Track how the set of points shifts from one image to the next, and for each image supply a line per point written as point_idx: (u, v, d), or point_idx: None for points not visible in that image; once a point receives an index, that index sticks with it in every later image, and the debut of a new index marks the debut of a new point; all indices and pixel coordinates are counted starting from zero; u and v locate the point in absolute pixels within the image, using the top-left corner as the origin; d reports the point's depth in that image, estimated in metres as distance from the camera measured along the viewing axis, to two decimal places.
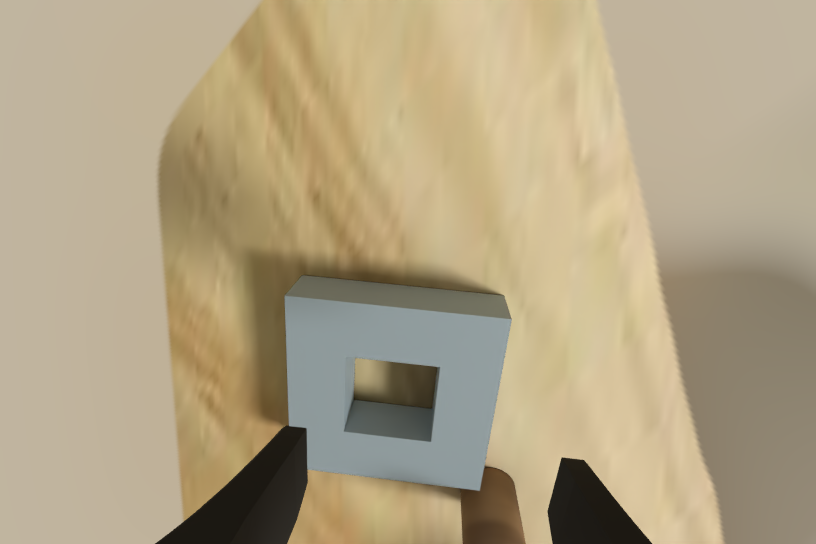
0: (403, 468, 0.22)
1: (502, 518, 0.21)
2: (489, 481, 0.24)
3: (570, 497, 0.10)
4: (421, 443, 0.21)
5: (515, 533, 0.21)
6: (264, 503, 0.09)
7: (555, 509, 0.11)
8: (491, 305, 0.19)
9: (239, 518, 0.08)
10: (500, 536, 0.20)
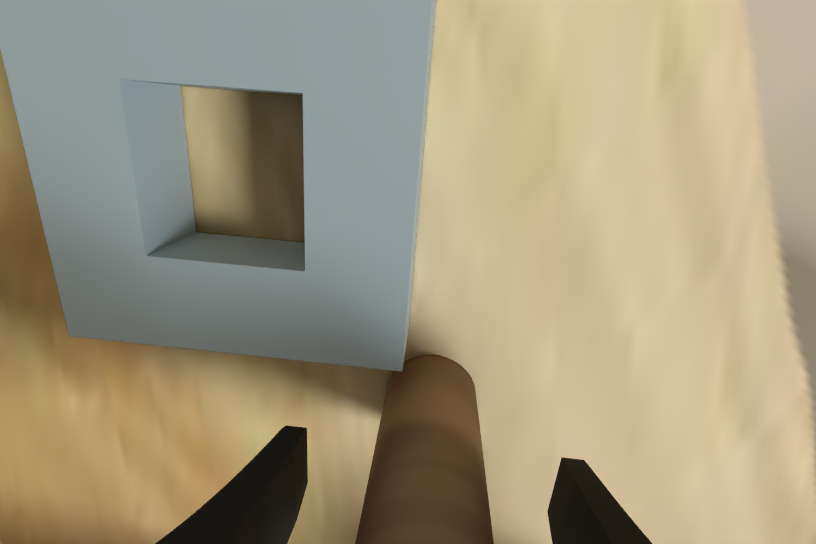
0: (263, 330, 0.12)
1: (441, 418, 0.12)
2: (428, 371, 0.14)
3: (570, 497, 0.10)
4: (288, 275, 0.11)
5: (463, 441, 0.11)
6: (264, 503, 0.09)
7: (555, 509, 0.11)
8: None
9: (239, 518, 0.08)
10: (432, 443, 0.11)
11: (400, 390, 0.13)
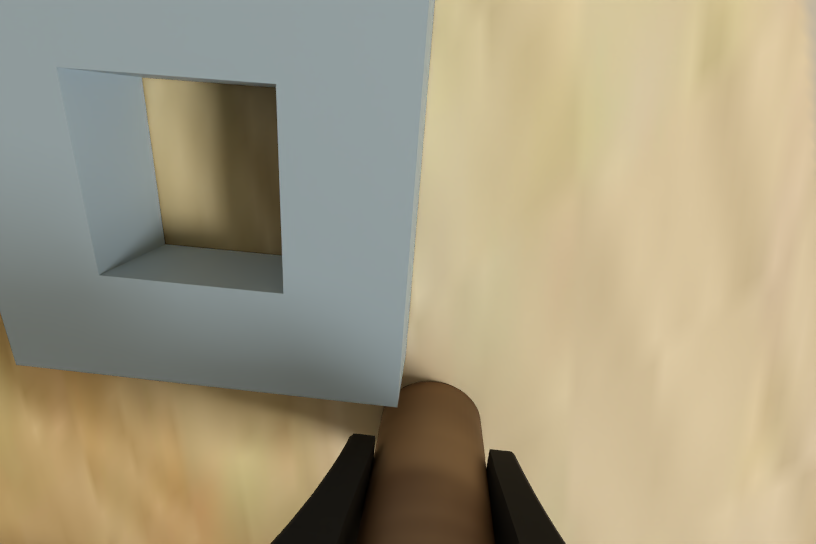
0: (236, 360, 0.10)
1: (442, 463, 0.10)
2: (427, 402, 0.12)
3: (492, 488, 0.11)
4: (264, 298, 0.10)
5: (468, 492, 0.10)
6: (350, 514, 0.09)
7: None
8: None
9: (334, 530, 0.08)
10: (431, 497, 0.09)
11: (396, 424, 0.12)
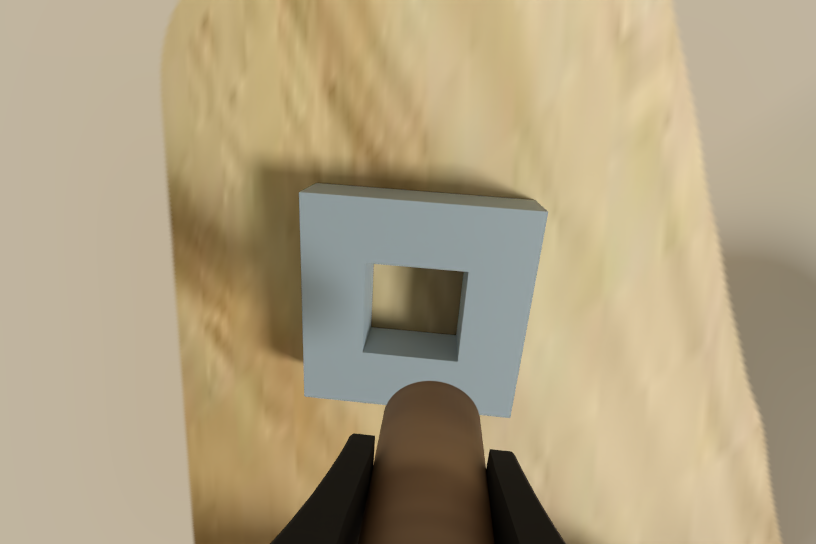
0: None
1: (433, 458, 0.10)
2: (420, 401, 0.13)
3: (492, 488, 0.11)
4: (447, 363, 0.19)
5: (459, 483, 0.10)
6: (350, 514, 0.09)
7: None
8: (523, 204, 0.18)
9: (334, 530, 0.08)
10: (422, 492, 0.09)
11: (391, 426, 0.12)
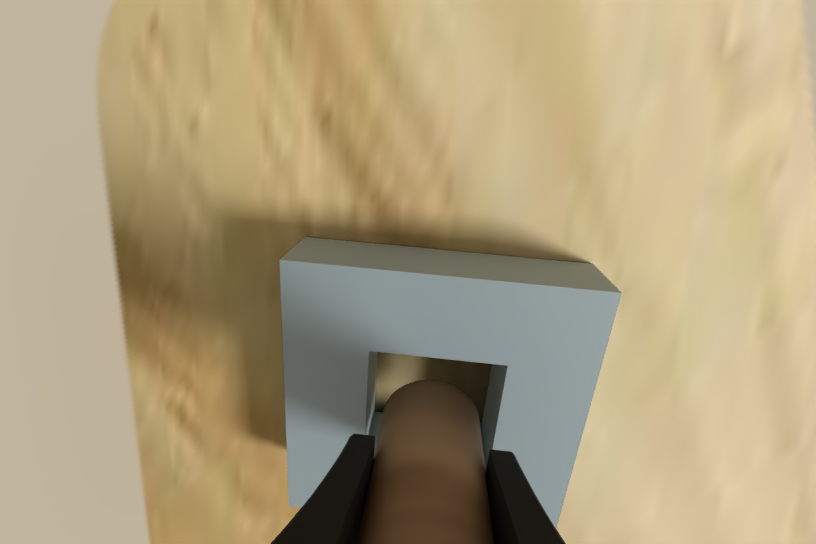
0: None
1: (432, 457, 0.10)
2: (420, 400, 0.13)
3: (492, 488, 0.11)
4: None
5: (459, 482, 0.10)
6: (350, 514, 0.09)
7: None
8: (582, 274, 0.13)
9: (334, 530, 0.08)
10: (420, 491, 0.09)
11: (390, 425, 0.12)
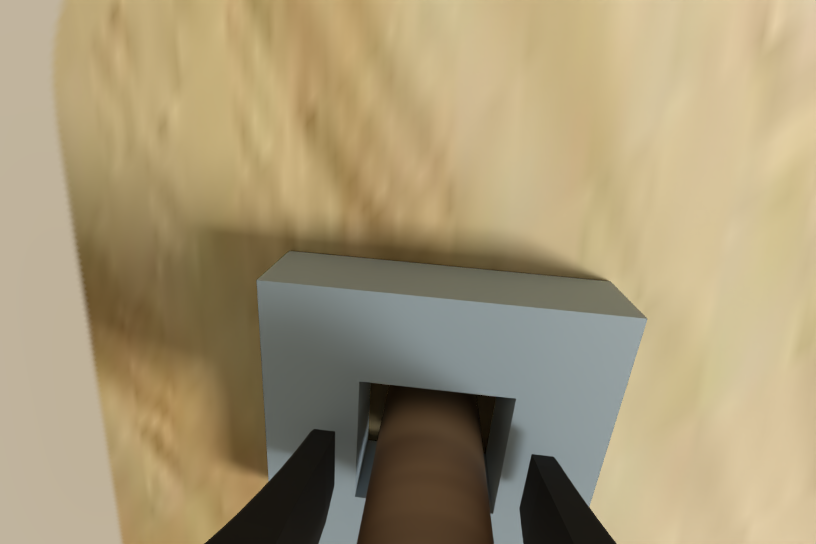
0: None
1: (433, 427, 0.11)
2: None
3: (538, 493, 0.11)
4: None
5: (457, 449, 0.11)
6: (300, 507, 0.09)
7: (525, 505, 0.11)
8: (600, 295, 0.12)
9: (279, 523, 0.08)
10: (423, 455, 0.10)
11: (394, 402, 0.13)
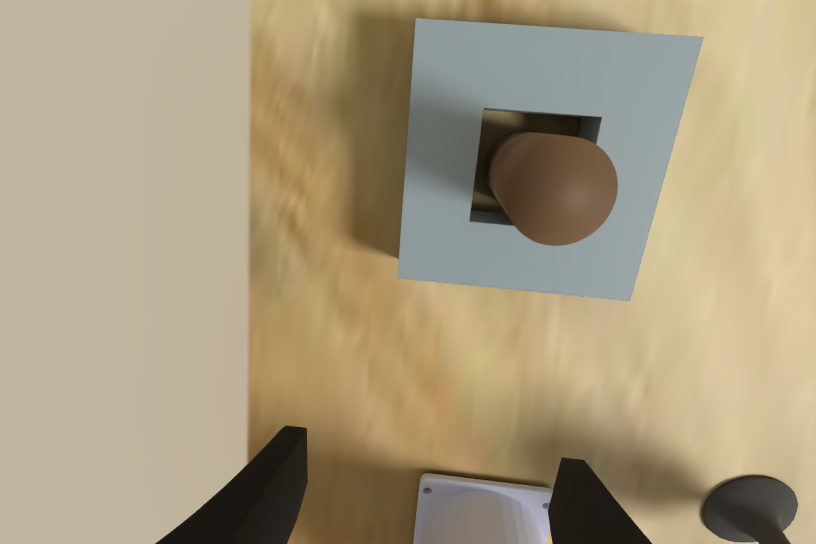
0: (538, 272, 0.18)
1: None
2: (520, 132, 0.17)
3: (570, 497, 0.10)
4: None
5: None
6: (264, 503, 0.09)
7: (555, 509, 0.11)
8: None
9: (239, 518, 0.08)
10: (542, 133, 0.14)
11: (501, 144, 0.17)
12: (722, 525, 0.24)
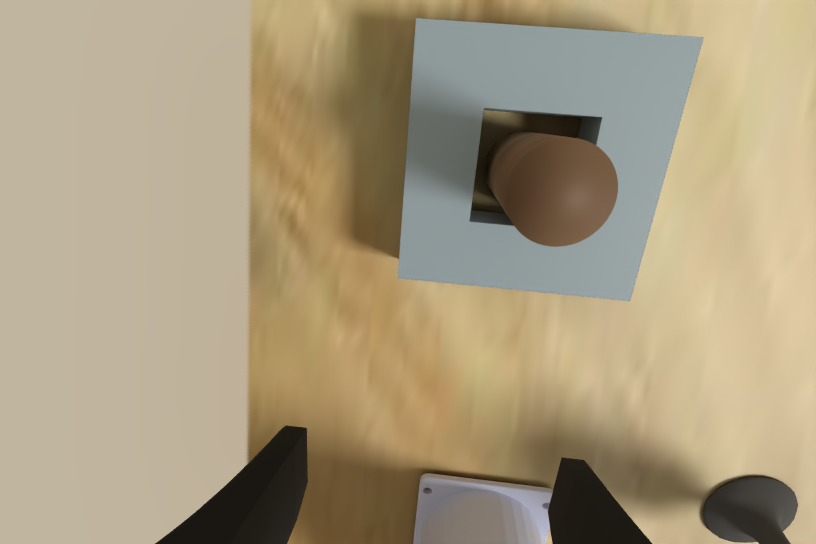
0: (538, 272, 0.18)
1: None
2: (520, 132, 0.17)
3: (570, 497, 0.10)
4: None
5: None
6: (264, 503, 0.09)
7: (555, 509, 0.11)
8: None
9: (239, 518, 0.08)
10: (542, 134, 0.14)
11: (502, 144, 0.17)
12: (722, 525, 0.24)
